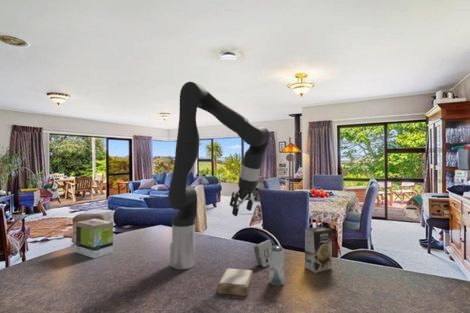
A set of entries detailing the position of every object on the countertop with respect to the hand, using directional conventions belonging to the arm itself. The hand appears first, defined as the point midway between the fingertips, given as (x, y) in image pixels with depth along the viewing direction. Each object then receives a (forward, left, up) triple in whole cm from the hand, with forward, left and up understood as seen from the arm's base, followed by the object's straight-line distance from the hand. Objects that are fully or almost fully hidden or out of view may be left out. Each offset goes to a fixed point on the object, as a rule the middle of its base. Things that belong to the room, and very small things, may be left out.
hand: (241, 212), depth 112 cm
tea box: (-71, +3, -23) cm, 75 cm away
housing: (+15, -11, -23) cm, 29 cm away
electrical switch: (+9, +6, -23) cm, 25 cm away
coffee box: (+31, +5, -23) cm, 39 cm away
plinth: (+1, -16, -23) cm, 27 cm away
